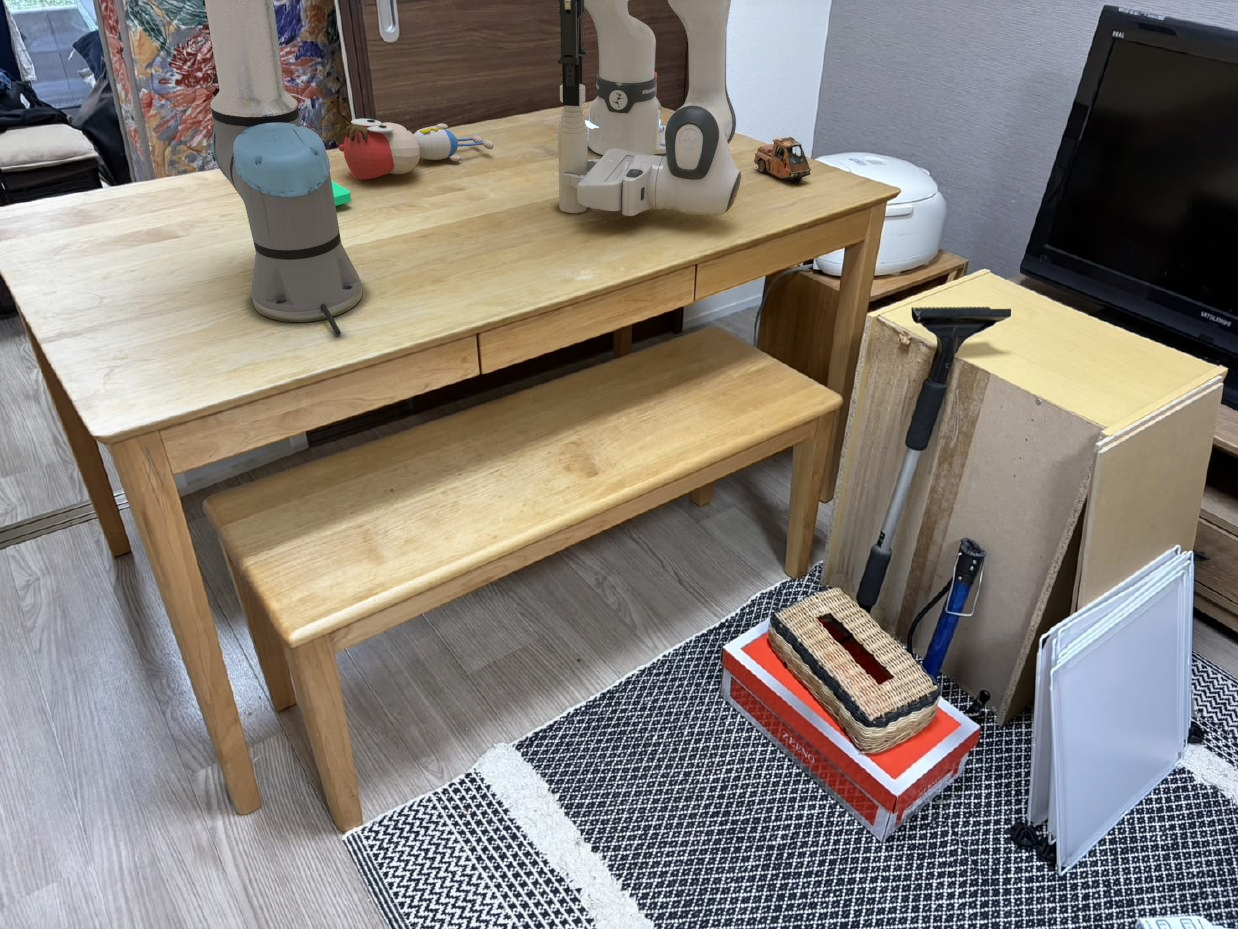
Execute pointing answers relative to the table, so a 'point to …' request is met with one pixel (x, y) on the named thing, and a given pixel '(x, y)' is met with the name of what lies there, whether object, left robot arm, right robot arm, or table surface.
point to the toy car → (782, 160)
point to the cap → (582, 93)
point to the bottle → (572, 154)
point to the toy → (397, 147)
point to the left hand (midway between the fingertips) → (572, 100)
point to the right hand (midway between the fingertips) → (568, 171)
